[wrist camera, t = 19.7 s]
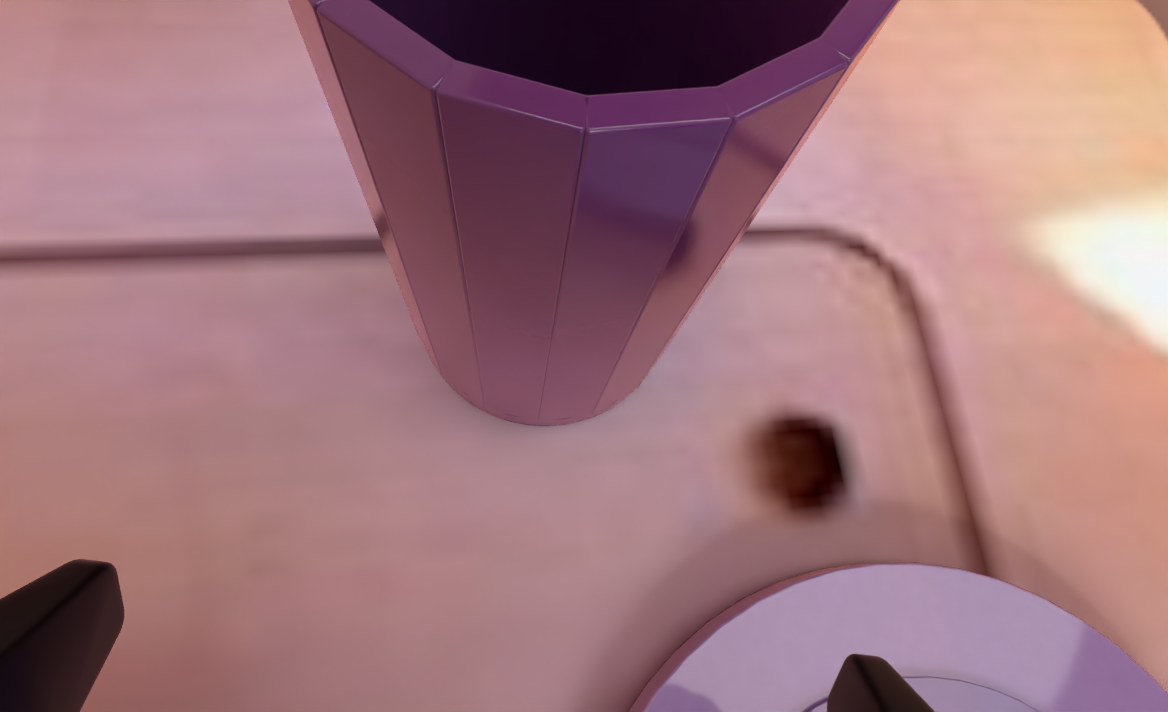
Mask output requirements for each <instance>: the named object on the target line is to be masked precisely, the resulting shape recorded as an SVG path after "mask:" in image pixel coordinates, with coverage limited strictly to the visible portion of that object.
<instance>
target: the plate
mask: <svg viewBox="0 0 1168 712" xmlns="http://www.w3.org/2000/svg"><path fill="white" fill-rule="evenodd" d="M850 654H863V655H871V656H878V657H881V658H883V659H884V660H886V661H887V662H888V663H889V664H890V665H891V666H892V667H893V668H894V669H895V670H896V671H897V672H898V673H899V674H900V675H901V676H902V678H903V679H904V680H905V681H906V682H907V683H908V684H909V685H910V686H911V687H912V688H913V689H914V690H915V691H916V692H917V693H918V694H919V695H920V696H921V697H922V699H923V700H924V701H925V702H926V703H927V704H928V705H929V706H930V707H931V708H932V709H933V710H934V711H935V712H1168V693H1167V692H1166V691H1165V690H1164V689H1163V688H1162V687H1161V685H1160V684H1159V683H1158V682H1157V681H1156V680H1155V679H1154V678H1153V677H1152V676H1151V675H1150V674H1148V673H1147V672H1146V671H1145V670H1144V669H1143V668H1142V667H1141V666H1140V665H1139V664H1137V663H1136V662H1135V661H1134V660H1133V659H1132V658H1131V657H1130V656H1129V655H1128V654H1127V653H1125V652H1124V651H1123V650H1122V649H1121V648H1120V647H1119V646H1117V645H1116V644H1115V643H1113V642H1112V641H1110V640H1109V639H1108V638H1106V637H1105V636H1104V635H1102V634H1101V633H1099V632H1098V631H1097V630H1095V629H1094V628H1093V627H1091V626H1090V625H1089V624H1087V623H1086V622H1084V621H1083V620H1082V619H1080V618H1078V617H1077V616H1075V615H1073V614H1071V613H1069V612H1068V611H1066V610H1064V609H1062V608H1061V607H1059V606H1057V605H1055V604H1054V603H1052V602H1050V601H1048V600H1047V599H1045V598H1043V597H1041V596H1039V595H1036V594H1034V593H1032V592H1029V591H1027V590H1024V589H1022V588H1020V587H1017V586H1015V585H1012V584H1010V583H1008V582H1005V581H1003V580H1000V579H997V578H993V577H989V576H985V575H982V574H978V573H974V572H971V571H967V570H963V569H960V568H953V567H945V566H938V565H930V564H922V563H870V564H853V565H846V566H840V567H833V568H827V569H820V570H815V571H812V572H809V573H805V574H802V575H799V576H796V577H793V578H789V579H786V580H783V581H780V582H777V583H775V584H773V585H771V586H769V587H767V588H765V589H762V590H760V591H758V592H756V593H754V594H752V595H750V596H748V597H746V598H744V599H742V600H740V601H739V602H737V603H736V604H734V605H733V606H731V607H730V608H728V609H727V610H725V611H724V612H722V613H721V614H719V615H718V616H716V617H715V618H713V619H712V620H710V621H709V622H707V623H706V624H705V625H704V626H703V627H702V628H701V629H699V630H698V631H697V632H696V633H695V634H694V635H693V636H692V637H690V638H689V639H688V640H687V641H686V642H685V643H684V644H683V645H681V646H680V647H679V648H678V649H677V650H676V651H675V652H674V653H673V654H672V655H671V657H670V658H669V659H668V660H667V661H666V662H665V664H664V665H663V666H662V667H661V668H660V669H659V671H658V672H657V673H656V674H655V675H654V676H653V678H652V679H651V680H650V681H649V682H648V683H647V685H646V686H645V687H644V689H643V690H642V692H641V693H640V695H639V697H638V698H637V700H636V701H635V703H634V704H633V706H632V707H631V709H630V710H629V712H827V700H828V696H829V693H830V691H831V689H832V687H833V684H834V682H835V680H836V678H837V676H838V673H839V671H840V669H841V667H842V665H843V663H844V661H845V659H846V657H848V656H849V655H850Z"/></svg>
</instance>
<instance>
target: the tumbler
mask: <svg viewBox="0 0 1168 712" xmlns="http://www.w3.org/2000/svg"><path fill="white" fill-rule="evenodd" d="M900 1H901V0H288V2H289V4H290V7H291V10H292V12H293V15H294V17H295V20H296V22H297V25H298V28H299V30H300V33H301V35H302V38H303V40H304V43H305V45H306V48H307V51H308V53H309V56H310V58H311V61H312V63H313V66H314V69H315V71H316V74H317V76H318V79H319V81H320V84H321V87H322V89H323V92H324V94H325V97H326V99H327V102H328V105H329V107H330V110H331V112H332V115H333V117H334V120H335V123H336V125H337V128H338V130H339V133H340V135H341V138H342V141H343V143H344V146H345V148H346V151H347V153H348V156H349V159H350V161H351V164H352V166H353V169H354V171H355V174H356V177H357V179H358V182H359V184H360V187H361V189H362V192H363V195H364V197H365V200H366V202H367V205H368V207H369V210H370V213H371V215H372V218H373V220H374V223H375V225H376V228H377V231H378V233H379V236H380V238H381V241H382V243H383V246H384V249H385V251H386V254H387V256H388V259H389V261H390V264H391V267H392V269H393V272H394V274H395V277H396V279H397V282H398V285H399V287H400V290H401V292H402V295H403V297H404V300H405V303H406V305H407V308H408V310H409V313H410V315H411V318H412V321H413V323H414V326H415V328H416V331H417V333H418V335H419V337H420V338H421V340H422V342H423V344H424V346H425V348H426V350H427V352H428V354H429V356H430V358H431V361H432V362H433V364H434V365H435V367H436V368H437V370H438V371H439V373H440V374H441V376H442V377H443V378H444V379H445V380H446V382H447V383H448V384H449V385H450V386H451V387H452V388H453V389H454V390H455V391H456V392H457V393H458V394H460V395H461V396H462V397H463V398H464V399H465V400H467V401H469V402H470V403H472V404H473V405H475V406H476V407H478V408H479V409H481V410H483V411H485V412H487V413H490V414H492V415H494V416H496V417H499V418H502V419H505V420H508V421H511V422H516V423H522V424H527V425H540V426H551V425H564V424H569V423H574V422H579V421H582V420H585V419H588V418H591V417H594V416H596V415H598V414H600V413H602V412H604V411H607V410H609V409H611V408H612V407H613V406H615V405H616V404H618V403H619V402H621V401H622V400H624V399H625V398H626V397H627V396H628V395H630V394H631V393H632V392H633V391H634V390H635V389H636V388H637V387H638V386H639V385H640V384H641V382H642V381H643V380H644V379H645V378H646V376H647V375H648V373H649V372H650V370H651V369H652V367H653V366H654V365H655V363H656V362H657V361H658V359H659V358H660V357H661V355H662V354H663V353H664V351H665V350H666V348H667V347H668V345H669V344H670V342H671V341H672V339H673V338H674V336H675V335H676V334H677V332H678V331H679V329H680V328H681V326H682V325H683V323H684V322H685V320H686V319H687V317H688V316H689V314H690V313H691V311H692V310H693V308H694V307H695V305H696V304H697V302H698V301H699V299H700V298H701V296H702V295H703V293H704V292H705V290H706V289H707V287H708V286H709V284H710V283H711V282H712V280H713V279H714V277H715V276H716V274H717V273H718V271H719V270H720V268H721V267H722V265H723V264H724V262H725V261H726V259H727V258H728V256H729V255H730V253H731V252H732V250H733V249H734V247H735V246H736V244H737V243H738V241H739V240H740V238H741V237H742V235H743V234H744V232H745V231H746V230H747V228H748V227H749V225H750V224H751V222H752V221H753V219H754V218H755V216H756V215H757V213H758V212H759V210H760V209H761V207H762V206H763V204H764V203H765V201H766V200H767V198H768V197H769V195H770V194H771V192H772V191H773V189H774V188H775V186H776V185H777V183H778V182H779V180H780V179H781V178H782V176H783V175H784V173H785V172H786V170H787V169H788V167H789V166H790V164H791V163H792V161H793V160H794V158H795V157H796V155H797V154H798V152H799V151H800V149H801V148H802V146H803V145H804V143H805V142H806V140H807V139H808V137H809V136H810V134H811V133H812V131H813V130H814V128H815V127H816V126H817V124H818V123H819V121H820V120H821V118H822V117H823V115H824V114H825V112H826V111H827V109H828V108H829V106H830V105H831V103H832V102H833V100H834V99H835V97H836V96H837V94H838V93H839V91H840V90H841V88H842V87H843V85H844V84H845V82H846V81H847V79H848V78H849V76H850V75H851V74H852V72H853V71H854V69H855V68H856V66H857V65H858V63H859V62H860V60H861V59H862V57H863V56H864V54H865V53H866V51H867V50H868V48H869V47H870V45H871V44H872V42H873V41H874V39H875V38H876V36H877V35H878V33H879V32H880V30H881V29H882V27H883V26H884V24H885V23H886V22H887V20H888V19H889V17H890V16H891V14H892V13H893V11H894V10H895V8H896V7H897V5H898V4H899V2H900Z"/></svg>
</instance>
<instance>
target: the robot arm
mask: <svg viewBox="0 0 1168 712" xmlns="http://www.w3.org/2000/svg"><path fill="white" fill-rule="evenodd" d="M123 621H124V606H123V601H122V596H121V591H120V586H119V581H118V575H117V571H116V568H115V567H114V566H113V565H112V564H111V563H108V562H101V561H93V560H85V559H77V560H73V561H70V562H68V563H66V564H64V565H62V566H60V567H59V568H57V569H55V570H53V571H51V572H49V573H47V574H46V575H44V576H42V577H40V578H38V579H36V580H35V581H33V582H31V583H29V584H27V585H25V586H23V587H22V588H20V589H18V590H16V591H14V592H12V593H11V594H9V595H7V596H5V597H3V598H1V599H0V712H80V710H81V708H82V706H83V704H84V702H85V700H86V698H87V696H88V694H89V692H90V690H91V688H92V686H93V684H94V682H95V680H96V678H97V676H98V674H99V672H100V670H101V668H102V667H103V665H104V663H105V661H106V659H107V657H108V655H109V653H110V651H111V649H112V647H113V645H114V643H115V641H116V639H117V637H118V635H119V633H120V631H121V628H122V625H123ZM827 712H935V711H934V710H933V709H932V708H931V707H930V706H929V705H928V704H927V703H926V702H925V701H924V700H923V699H922V697H921V696H920V695H919V694H918V693H917V692H916V691H915V690H914V689H913V688H912V687H911V686H910V685H909V684H908V683H907V682H906V681H905V680H904V679H903V678H902V676H901V675H900V674H899V673H898V672H897V671H896V670H895V669H894V668H893V667H892V666H891V665H890V664H889V663H888V662H887V661H886V660H884V659H883V658H881V657H878V656H871V655H863V654H850V655H849V656H848V657H846V659H845V661H844V663H843V665H842V667H841V669H840V671H839V673H838V676H837V678H836V680H835V682H834V684H833V687H832V689H831V691H830V693H829V696H828V700H827Z"/></svg>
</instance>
